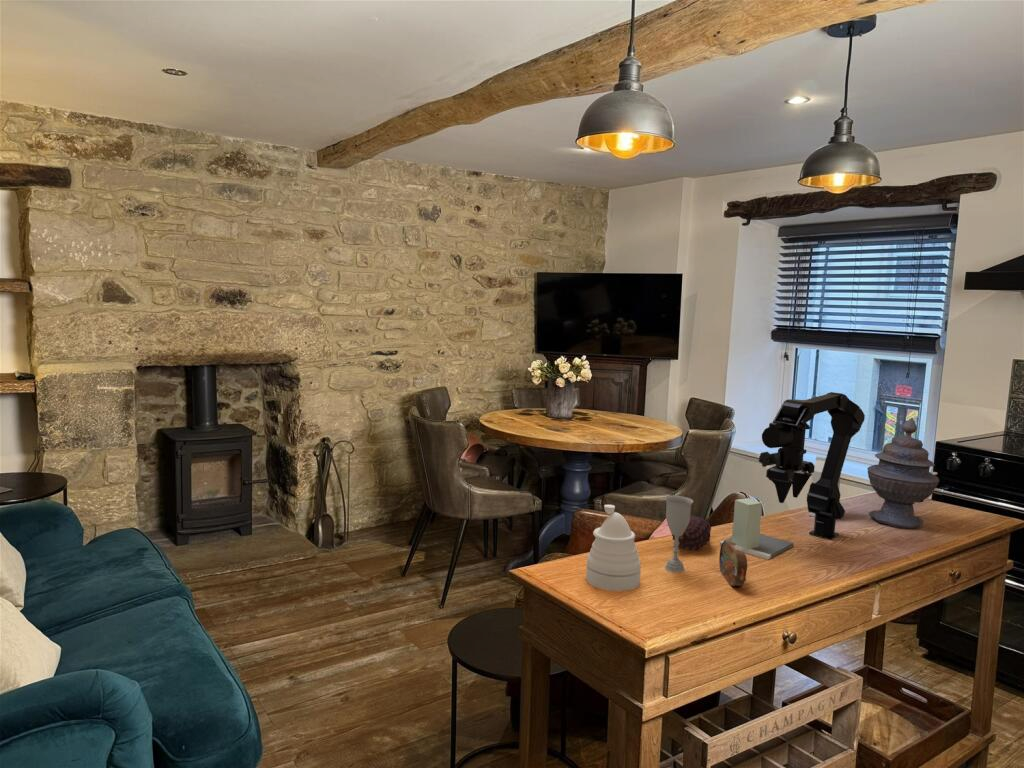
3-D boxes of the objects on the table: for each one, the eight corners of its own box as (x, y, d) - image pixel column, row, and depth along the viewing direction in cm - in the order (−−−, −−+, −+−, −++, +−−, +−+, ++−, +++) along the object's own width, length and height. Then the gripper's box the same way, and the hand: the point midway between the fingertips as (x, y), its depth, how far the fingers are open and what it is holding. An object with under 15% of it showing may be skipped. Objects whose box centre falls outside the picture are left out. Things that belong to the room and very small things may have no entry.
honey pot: (575, 580, 169) (578, 507, 167) (604, 566, 179) (608, 497, 177) (621, 596, 161) (625, 519, 159) (649, 580, 171) (653, 508, 169)
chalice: (655, 565, 180) (659, 496, 178) (677, 562, 183) (681, 494, 181) (672, 575, 174) (676, 504, 172) (694, 572, 176) (699, 502, 174)
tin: (717, 567, 180) (719, 535, 180) (729, 568, 180) (732, 536, 179) (733, 591, 166) (736, 557, 165) (747, 592, 165) (750, 557, 164)
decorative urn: (844, 512, 230) (864, 409, 225) (889, 512, 237) (909, 412, 233) (897, 535, 212) (920, 423, 207) (943, 534, 219) (966, 425, 214)
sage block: (744, 541, 198) (748, 498, 197) (758, 547, 194) (762, 502, 192) (731, 543, 196) (735, 499, 194) (745, 549, 191) (748, 504, 190)
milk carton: (831, 520, 224) (836, 462, 222) (808, 515, 228) (813, 458, 226) (836, 515, 230) (842, 458, 227) (814, 511, 234) (818, 454, 232)
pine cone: (686, 534, 205) (707, 509, 202) (709, 559, 199) (731, 534, 196) (653, 530, 193) (676, 504, 190) (677, 557, 186) (700, 530, 183)
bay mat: (746, 533, 208) (746, 530, 208) (793, 546, 199) (793, 542, 198) (719, 545, 197) (719, 542, 197) (767, 559, 187) (768, 555, 187)
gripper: (779, 437, 208) (774, 488, 210) (750, 444, 195) (745, 499, 197) (817, 443, 200) (812, 497, 202) (790, 451, 187) (784, 508, 189)
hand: (788, 500), depth 198 cm, fingers open, 9 cm apart
